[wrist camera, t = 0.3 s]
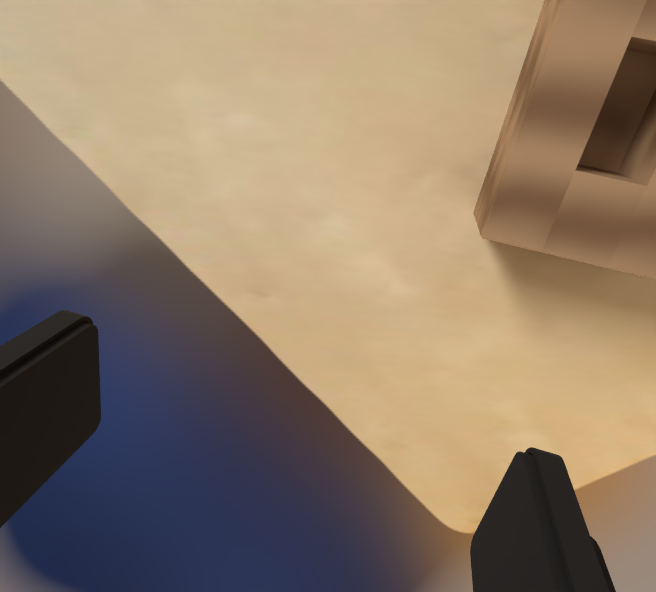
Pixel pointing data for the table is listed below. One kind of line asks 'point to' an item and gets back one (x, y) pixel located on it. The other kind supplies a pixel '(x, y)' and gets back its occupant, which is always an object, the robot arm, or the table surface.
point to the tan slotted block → (581, 140)
